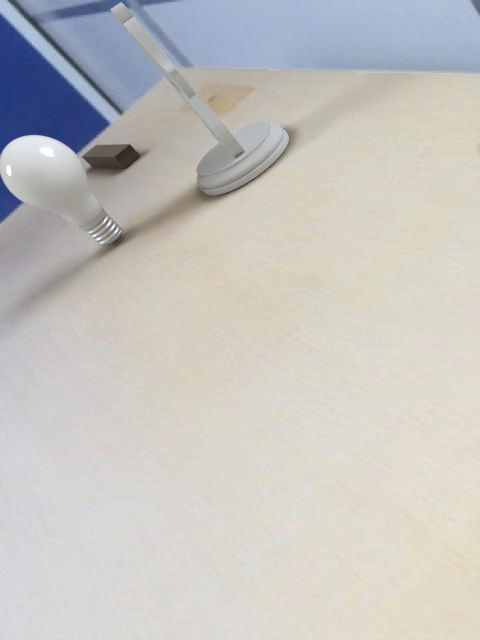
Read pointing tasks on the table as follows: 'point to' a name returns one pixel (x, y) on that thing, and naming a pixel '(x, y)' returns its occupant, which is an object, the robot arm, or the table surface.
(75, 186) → the lightbulb
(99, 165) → the walnut stick
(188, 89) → the white sign stand
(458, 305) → the table surface
